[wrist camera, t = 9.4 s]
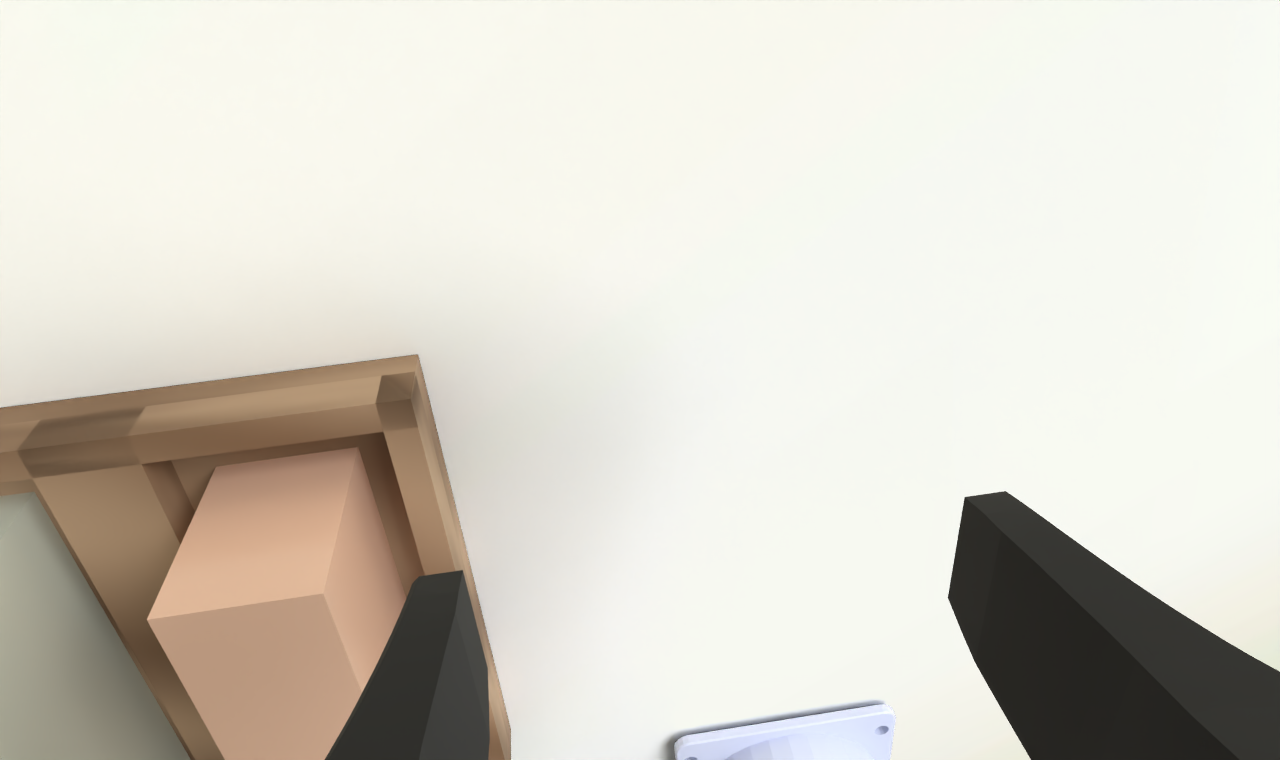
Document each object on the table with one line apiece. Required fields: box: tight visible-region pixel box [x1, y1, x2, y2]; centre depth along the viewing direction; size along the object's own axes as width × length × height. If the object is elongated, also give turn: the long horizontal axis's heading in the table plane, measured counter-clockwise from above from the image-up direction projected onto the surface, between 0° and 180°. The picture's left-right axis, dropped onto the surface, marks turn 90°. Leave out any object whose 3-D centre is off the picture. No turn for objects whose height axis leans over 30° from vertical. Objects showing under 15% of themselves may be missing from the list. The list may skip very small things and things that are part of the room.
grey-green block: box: [0, 492, 191, 760], centre depth 22 cm, size 11×4×5 cm, turn 4°
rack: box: [0, 355, 511, 760], centre depth 24 cm, size 15×15×2 cm
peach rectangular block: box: [147, 447, 406, 760], centre depth 23 cm, size 11×4×5 cm, turn 5°
